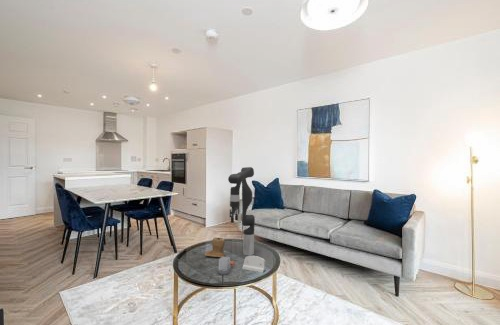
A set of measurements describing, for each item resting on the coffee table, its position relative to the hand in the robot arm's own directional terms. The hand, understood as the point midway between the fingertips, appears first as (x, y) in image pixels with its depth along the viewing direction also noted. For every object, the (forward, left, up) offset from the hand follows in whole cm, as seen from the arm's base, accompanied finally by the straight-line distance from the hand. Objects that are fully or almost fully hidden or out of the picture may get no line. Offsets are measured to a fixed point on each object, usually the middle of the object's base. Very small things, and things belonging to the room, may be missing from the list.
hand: (234, 221), depth 184 cm
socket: (+13, -13, -29) cm, 34 cm away
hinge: (+15, +10, -33) cm, 37 cm away
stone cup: (-22, -7, -32) cm, 40 cm away
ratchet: (+8, -8, -32) cm, 34 cm away
